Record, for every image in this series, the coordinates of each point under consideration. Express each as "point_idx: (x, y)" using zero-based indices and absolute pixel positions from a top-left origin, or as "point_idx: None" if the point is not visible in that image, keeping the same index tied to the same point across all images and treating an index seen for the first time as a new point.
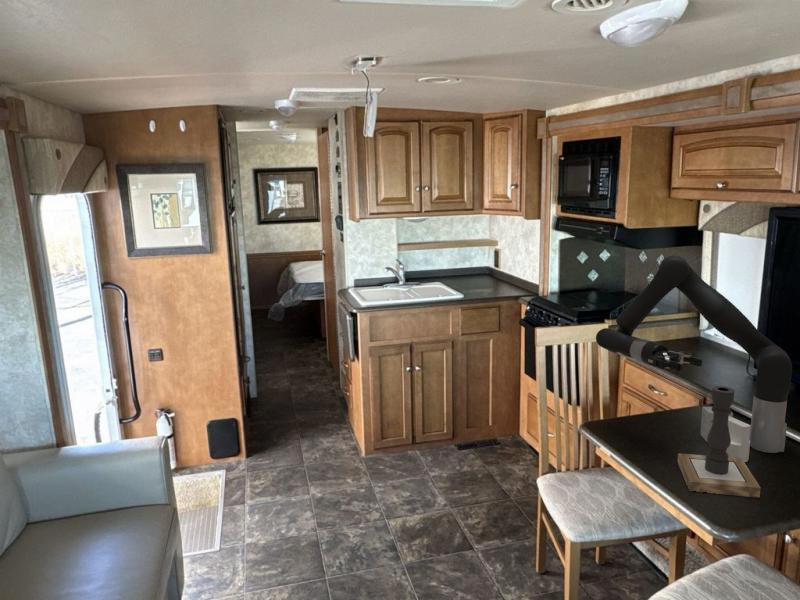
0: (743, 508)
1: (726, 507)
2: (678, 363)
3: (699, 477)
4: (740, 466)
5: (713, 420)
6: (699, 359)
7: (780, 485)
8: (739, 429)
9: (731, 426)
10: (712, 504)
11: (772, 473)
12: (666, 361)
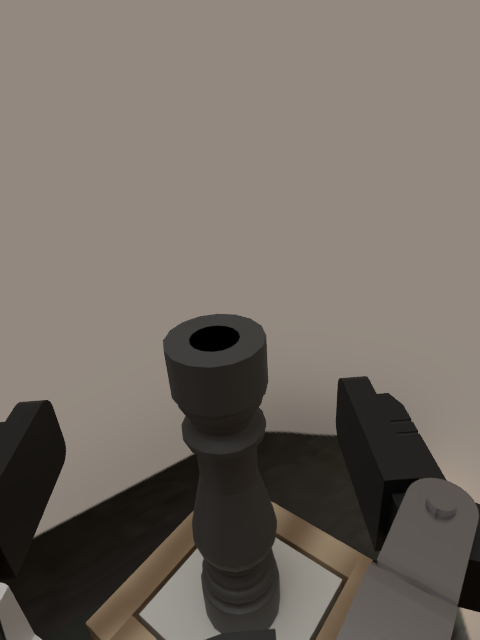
0: (305, 478)
1: (341, 494)
2: (366, 392)
3: (340, 580)
4: (153, 578)
5: (251, 477)
6: (32, 406)
7: (123, 514)
8: (4, 616)
9: None
10: None
11: (63, 567)
12: (475, 520)
